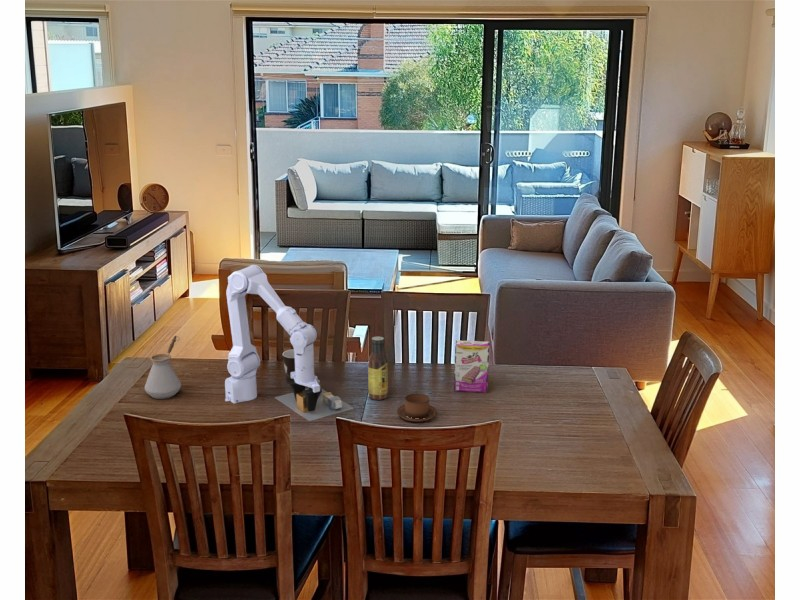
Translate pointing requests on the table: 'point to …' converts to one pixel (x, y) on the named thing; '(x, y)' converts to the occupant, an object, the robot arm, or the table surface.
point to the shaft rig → (331, 400)
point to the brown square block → (301, 402)
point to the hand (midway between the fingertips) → (305, 406)
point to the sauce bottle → (378, 370)
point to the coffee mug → (289, 363)
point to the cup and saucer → (416, 408)
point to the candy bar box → (471, 366)
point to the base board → (320, 408)
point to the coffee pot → (162, 376)
